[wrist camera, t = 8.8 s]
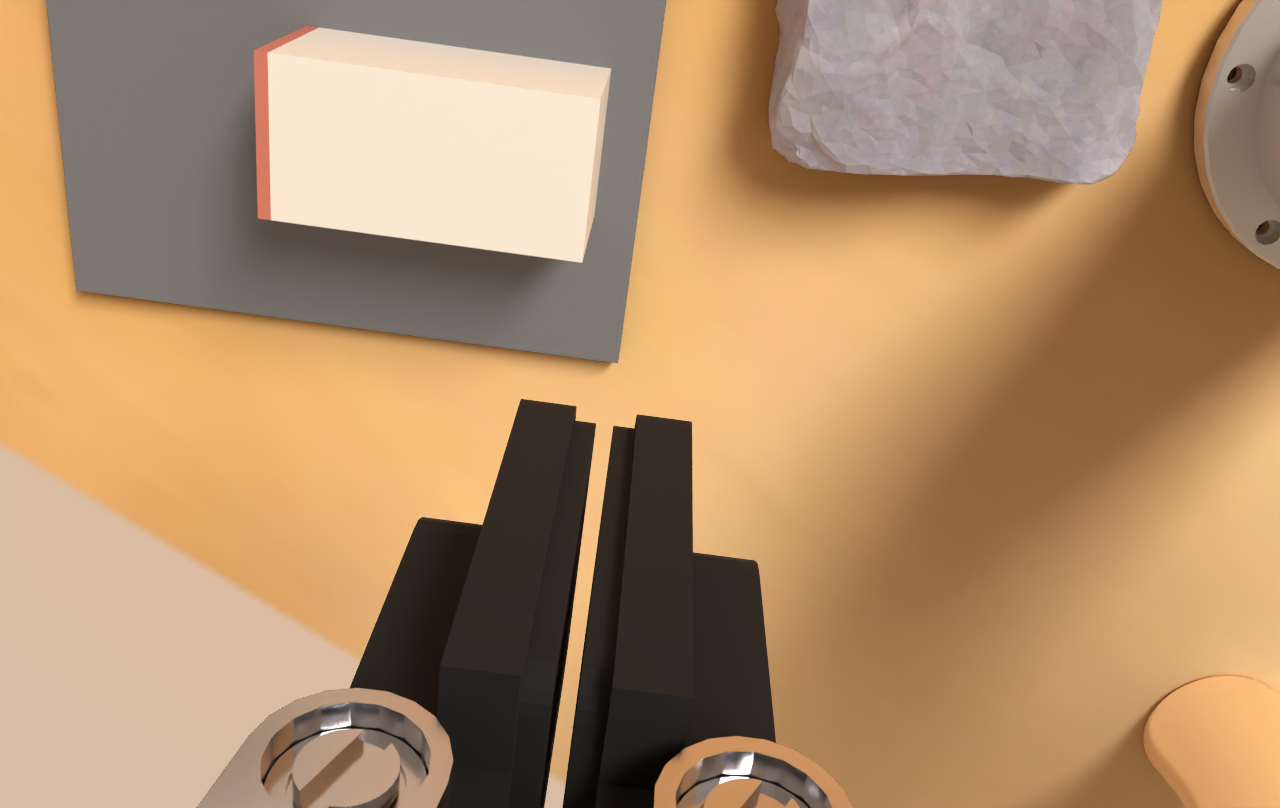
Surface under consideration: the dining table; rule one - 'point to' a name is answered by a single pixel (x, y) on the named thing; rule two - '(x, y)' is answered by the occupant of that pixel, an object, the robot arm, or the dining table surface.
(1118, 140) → the stone block
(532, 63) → the cream block
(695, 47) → the dining table surface
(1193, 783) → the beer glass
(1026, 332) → the dining table surface
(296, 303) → the charcoal mat
